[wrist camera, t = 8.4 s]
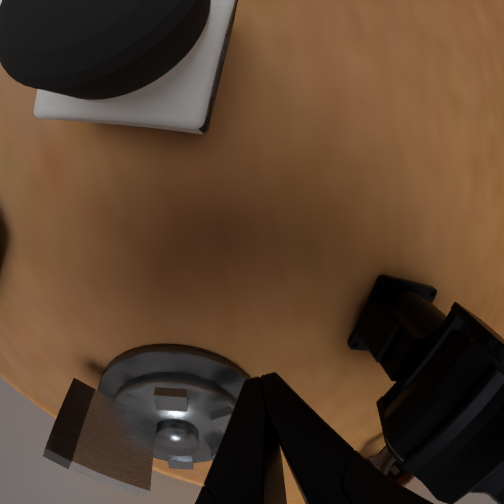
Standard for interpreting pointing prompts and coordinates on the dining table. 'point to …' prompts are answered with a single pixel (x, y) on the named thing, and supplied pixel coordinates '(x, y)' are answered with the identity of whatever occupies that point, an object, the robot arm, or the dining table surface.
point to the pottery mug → (391, 467)
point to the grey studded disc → (139, 428)
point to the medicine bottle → (119, 59)
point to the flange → (172, 367)
